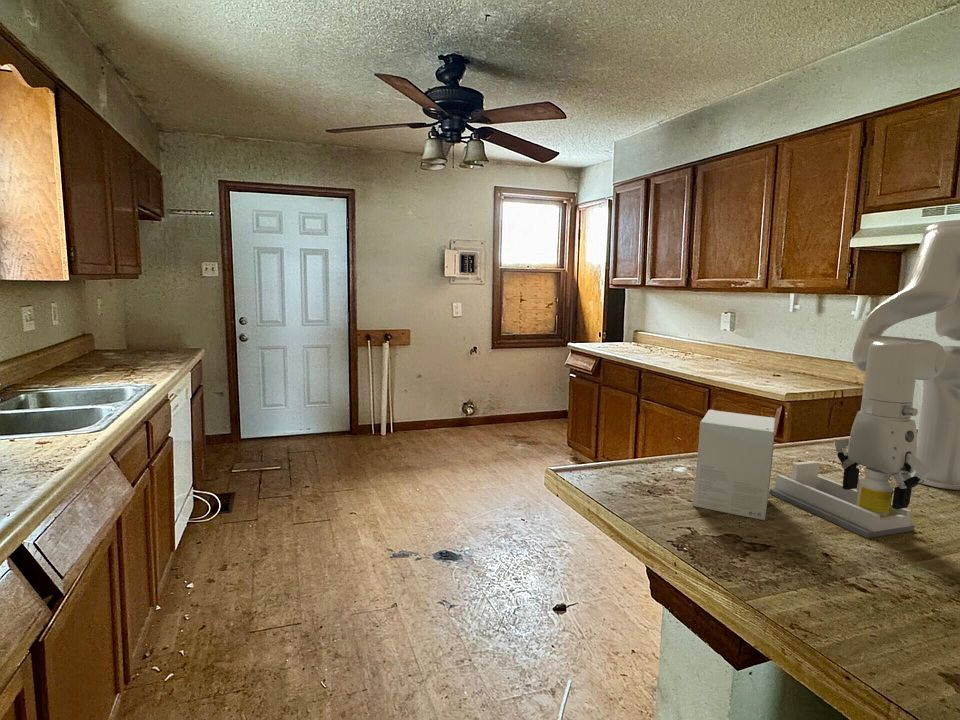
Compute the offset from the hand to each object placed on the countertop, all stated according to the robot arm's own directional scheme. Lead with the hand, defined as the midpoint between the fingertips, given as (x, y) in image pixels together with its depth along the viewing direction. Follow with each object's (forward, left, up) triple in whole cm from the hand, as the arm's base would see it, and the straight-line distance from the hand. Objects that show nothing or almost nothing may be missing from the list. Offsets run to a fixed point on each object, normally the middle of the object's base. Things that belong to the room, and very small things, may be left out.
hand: (873, 498), depth 108 cm
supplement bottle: (0, 0, -4) cm, 5 cm away
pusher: (0, -15, -4) cm, 16 cm away
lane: (0, -7, -5) cm, 9 cm away
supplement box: (+18, -16, -6) cm, 25 cm away
